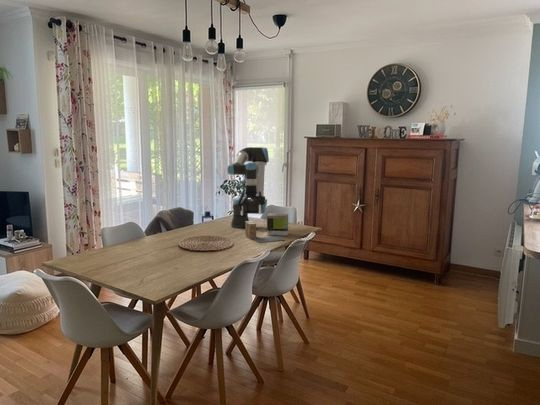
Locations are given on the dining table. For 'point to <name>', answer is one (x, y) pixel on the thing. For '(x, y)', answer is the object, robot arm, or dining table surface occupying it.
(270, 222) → the tea box
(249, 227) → the tan upright block
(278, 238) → the slate mat
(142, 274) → the dining table surface
